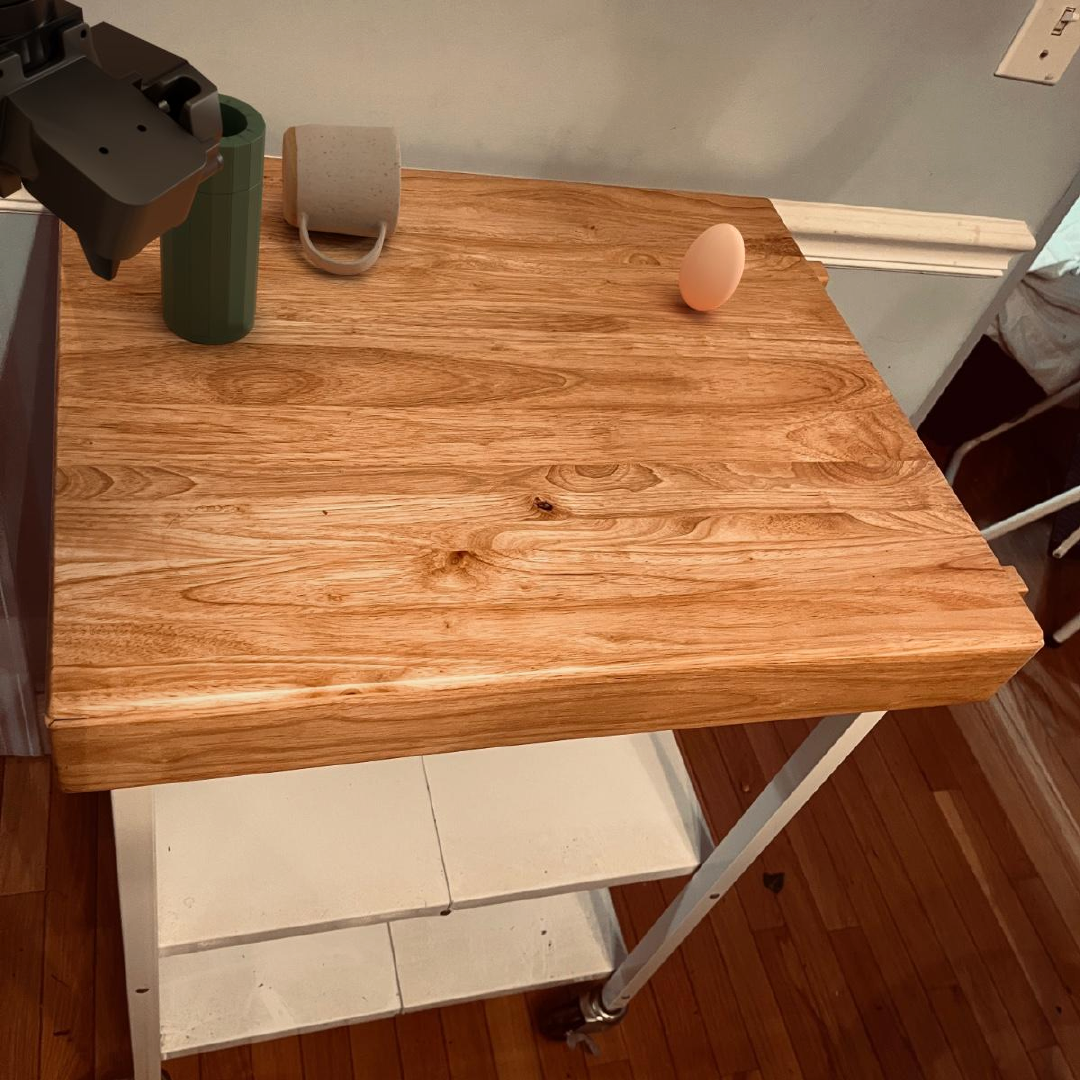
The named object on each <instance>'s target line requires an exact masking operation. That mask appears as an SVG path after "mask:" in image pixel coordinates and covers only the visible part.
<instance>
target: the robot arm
mask: <svg viewBox="0 0 1080 1080" xmlns="http://www.w3.org/2000/svg"><path fill="white" fill-rule="evenodd" d="M218 93H219V90H218V86H217V85H215V84H214V82H212V81H211V80H210V79H209V78H208V77H206V76H205V75H204V74H203V73H202V72H201V71H200V70H198V69H197V68H196V67H195V66H194V65H192V64H191V63H190V62H189V60H188V59H186V58H183V57H182V56H180V55H177V54H176V53H174V52H171V51H169V50H167V49H165V48H163V47H161V46H158V45H156V44H153V43H152V42H149V41H148V40H145V39H143V38H141V37H138V36H137V35H135V34H132V33H130V32H128V31H126V30H123V29H121V28H119V27H117V26H115V25H113V24H110V23H108V22H106V21H104V20H103V21H101V22H98V23H97V24H95V25H92V26H90V25H89V24H88V23H87V22H85V20H84V13H83V8H82V7H81V6H79V5H76V4H75V3H72V2H70V1H68V0H0V198H1V199H4V200H5V199H6V198H8V197H10V196H12V195H13V194H15V193H17V192H18V191H20V190H22V189H23V188H24V189H25V191H26V192H27V193H28V194H29V196H31V197H32V198H34V199H35V201H37V202H38V203H39V204H40V205H42V206H43V207H44V208H45V209H47V210H48V211H49V212H50V213H51V214H53V215H54V216H55V217H56V218H57V219H59V220H60V221H61V222H63V224H65V225H66V226H68V227H69V228H70V229H71V230H72V231H74V232H75V233H76V235H77V239H78V242H79V245H80V247H81V250H82V252H83V254H84V256H85V259H86V261H87V263H88V266H89V268H90V271H91V272H92V274H94V275H95V276H96V277H98V278H101V279H103V280H105V281H107V282H110V281H112V280H113V279H115V278H116V277H117V274H118V271H119V267H120V264H121V262H122V261H128V260H130V259H132V258H134V257H135V256H138V255H139V254H140V253H141V252H142V251H143V250H144V249H145V248H146V246H147V245H150V243H152V242H154V241H155V240H157V239H158V238H160V236H161V235H162V234H163V233H165V232H166V231H168V230H169V229H171V228H172V227H177V226H179V225H180V224H181V223H183V222H184V221H185V220H186V218H187V216H188V213H189V210H190V207H191V204H192V202H193V199H194V196H195V193H196V190H197V188H198V185H199V184H200V183H201V182H203V181H204V180H206V179H207V178H209V177H210V176H212V175H213V174H215V173H216V172H217V171H219V170H220V169H222V168H223V166H224V161H223V157H222V155H221V154H220V152H219V151H218V148H219V145H220V139H221V137H222V133H223V126H222V119H221V112H220V104H219V97H218Z"/></svg>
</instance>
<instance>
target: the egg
mask: <svg viewBox="0 0 1080 1080" xmlns="http://www.w3.org/2000/svg"><path fill="white" fill-rule="evenodd" d="M745 262H746V248H745V242H744V238H743V236H742V234H741V232H740V231H739V230H738V229H737V227H735V226H734V225H732V224H729V223H717V224H714V225H712V226H710V227H708V228H707V229H706V230H704V231H703V232H701V234H699V236H698V237H696V238H695V240H694V241H693V242H692V243H691V244H690V246H689V248H688V249H687V251H686V252H685V254H684V256H683V259H682V261H681V264H680V268H679V273H678V287H679V291H680V295H681V297H682V299H683V300H684V302H685V303H686V305H687V306H689V308H691V309H693V310H696V311H699V312H707V311H711V310H714V309H715V308H718V307H719V306H722V305H723V304H724V303H725V302H726V301H728V300H729V299H730V297H732V295H733V294H734V292H735V291H736V289H737V287H738V285H739V283H740V281H741V278H742V277H743V272H744V269H745Z"/></svg>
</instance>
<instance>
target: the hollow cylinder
mask: <svg viewBox="0 0 1080 1080" xmlns="http://www.w3.org/2000/svg"><path fill="white" fill-rule="evenodd" d="M218 97H219V104H220V112H221V119H222V126H223V133H222V137H221V139H220V145H219V148H218V151H219V152H220V154H221V155H222V157H223V161H224V166H223V168H222V169H220V170H219V171H217V172H216V173H215V174H213V175H212V176H210V177H209V178H207V179H206V180H204V181H203V182H201V183H200V184H199V185H198V188H197V190H196V193H195V196H194V199H193V202H192V204H191V207H190V210H189V213H188V216H187V218H186V220H185V221H184V222H183V223H181V224H180V225H179V226H177V227H172V228H171V229H169V230H168V231H166V232H165V233H163V234H162V235H161V236H159V261H160V264H159V266H160V301H161V302H160V303H161V313H162V319H163V321H164V323H165V325H166V326H167V327H168V328H169V330H170V331H172V332H173V333H174V334H175V335H177V336H179V337H181V338H182V339H185V340H187V341H190V342H193V343H198V344H202V345H203V344H204V345H223V344H224V345H226V344H230V343H233V342H236V341H238V340H241V339H243V338H244V337H245V336H247V335H248V334H249V333H250V332H251V330H252V329H253V328H254V325H255V320H256V314H257V298H258V297H257V296H258V295H257V294H258V281H259V280H258V277H259V261H260V245H261V244H260V243H261V242H260V241H261V226H262V225H261V224H262V205H263V190H264V189H263V188H264V169H265V152H266V151H265V150H266V149H265V148H266V132H267V124H266V122H265V120H264V118H263V114H262V113H260V112H259V111H258V110H257V109H256V108H254V106H252V105H251V104H250V103H248V102H246V101H243V100H241V99H239V98H236V97H234V96H231V95H227V94H223V93H219V92H218Z"/></svg>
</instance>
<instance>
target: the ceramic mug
mask: <svg viewBox="0 0 1080 1080" xmlns="http://www.w3.org/2000/svg"><path fill="white" fill-rule="evenodd" d="M281 149H282V151H281V152H282V153H281V185H282V187H281V188H282V189H281V191H282V211H283V218H284V220H285V221H286V222H287V223H288V225H290V226H292V227H295V228H299V239H300V242H301V246H302V249H303V252H304V253H305V255H306V256H307V258H308V259H309V260H310V261H311V263H313V264H314V265H315V266H317V268H319V269H321V270H323V271H325V272H327V273H330V274H333V275H339V276H354V275H355V276H356V275H358V274H362V273H364V272H365V271H367V270H368V269H370V268H371V267H372V266H374V264H375V263H376V261H377V260H378V258H379V256H380V254H381V252H382V248H383V244H384V241H385V239H393V238H394V236H395V234H396V232H397V227H398V223H399V217H400V210H401V209H400V208H401V198H402V197H401V196H402V195H401V194H402V159H401V158H402V157H401V155H402V154H401V145H400V138H399V135H398V132H397V130H396V129H395V128H394V127H391V126H363V125H362V126H361V125H331V124H317V123H310V124H299V125H292V126H289V127H288V128H287V129H286V131H284V133H283V136H282V148H281ZM308 231H312V232H323V233H337V234H344V235H350V236H358V237H370V238H377V240H376V242H375V244H374V246H373V247H372V249H371V250H369V252H367V254H365V255H363V256H362V257H361V258H359V259H357V260H354V261H349V262H347V261H341V260H336V259H333V258H332V257H330V256H327V255H326V254H325V255H324V254H323V253H322V251H319V250H318V249H317V248H316V247H315V246H314V243H312V241H311V239H310V237H309V232H308Z"/></svg>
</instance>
